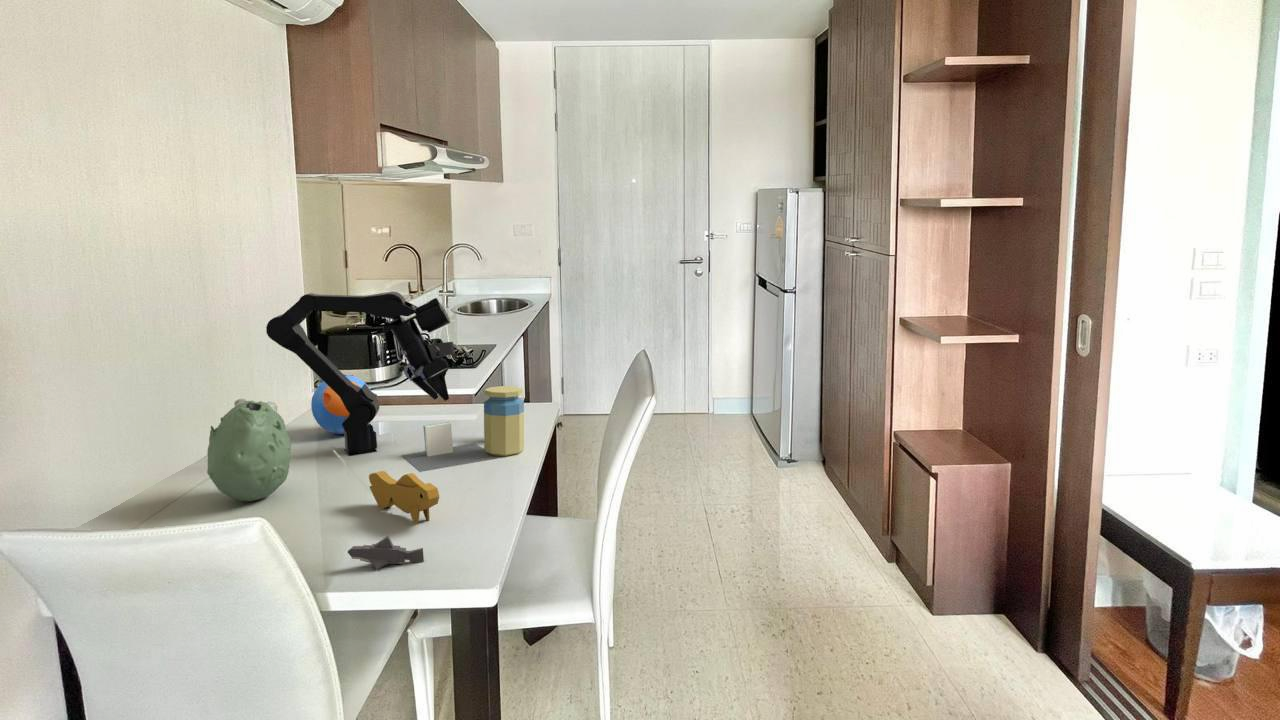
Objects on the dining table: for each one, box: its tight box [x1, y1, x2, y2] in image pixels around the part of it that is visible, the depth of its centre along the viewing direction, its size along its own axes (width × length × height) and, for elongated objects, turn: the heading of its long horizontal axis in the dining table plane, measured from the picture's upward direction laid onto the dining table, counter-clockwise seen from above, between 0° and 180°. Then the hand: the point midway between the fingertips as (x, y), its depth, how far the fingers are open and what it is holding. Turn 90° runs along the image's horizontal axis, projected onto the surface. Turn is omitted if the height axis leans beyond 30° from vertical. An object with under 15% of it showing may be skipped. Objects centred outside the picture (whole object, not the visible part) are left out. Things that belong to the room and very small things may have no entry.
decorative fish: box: [368, 470, 440, 525], centre depth 165 cm, size 22×3×10 cm, turn 44°
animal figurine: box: [347, 535, 425, 571], centre depth 142 cm, size 12×4×5 cm, turn 100°
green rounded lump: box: [206, 398, 292, 502], centre depth 177 cm, size 16×19×20 cm
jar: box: [483, 385, 525, 457], centre depth 204 cm, size 9×9×15 cm
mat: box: [400, 442, 498, 473], centre depth 203 cm, size 18×16×1 cm
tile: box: [423, 421, 454, 456], centre depth 205 cm, size 6×2×7 cm, turn 120°
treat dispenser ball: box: [310, 374, 371, 435], centre depth 229 cm, size 16×15×15 cm
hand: (441, 399), depth 212 cm, fingers open, 9 cm apart
